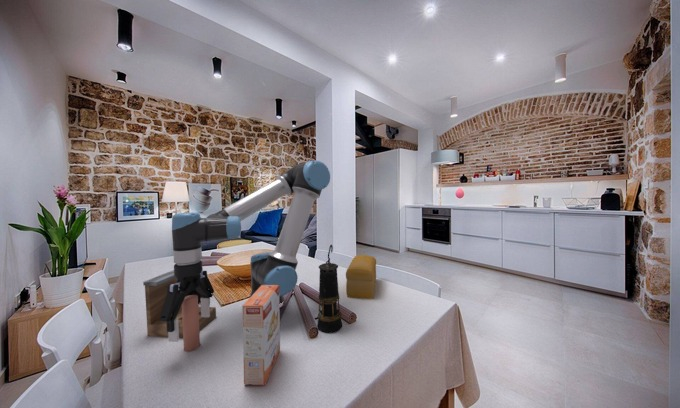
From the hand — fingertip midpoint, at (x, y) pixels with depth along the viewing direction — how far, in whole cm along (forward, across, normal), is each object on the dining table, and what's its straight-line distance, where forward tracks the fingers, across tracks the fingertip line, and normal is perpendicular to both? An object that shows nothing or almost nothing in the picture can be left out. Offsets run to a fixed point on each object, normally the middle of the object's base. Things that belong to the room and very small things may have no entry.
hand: (191, 327), depth 76 cm
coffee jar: (+6, -29, -24) cm, 38 cm away
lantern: (+6, -16, +42) cm, 45 cm away
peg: (+6, 0, 0) cm, 6 cm away
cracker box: (+7, +6, +27) cm, 28 cm away
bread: (+7, -52, +53) cm, 74 cm away
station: (+6, -11, -12) cm, 17 cm away
